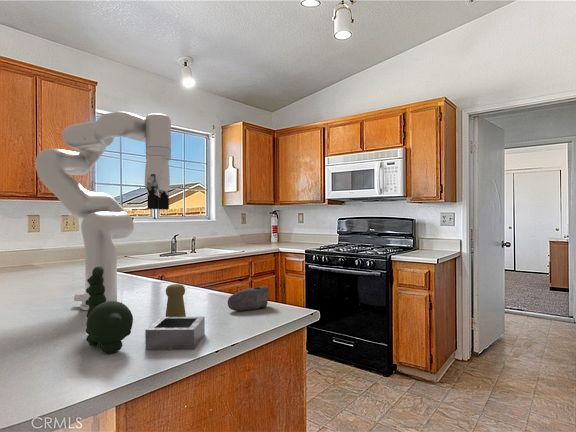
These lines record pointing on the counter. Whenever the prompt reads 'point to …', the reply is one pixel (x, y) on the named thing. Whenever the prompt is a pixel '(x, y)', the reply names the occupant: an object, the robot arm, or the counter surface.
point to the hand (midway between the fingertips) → (158, 209)
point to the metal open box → (175, 333)
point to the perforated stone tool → (249, 299)
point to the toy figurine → (105, 316)
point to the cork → (175, 301)
